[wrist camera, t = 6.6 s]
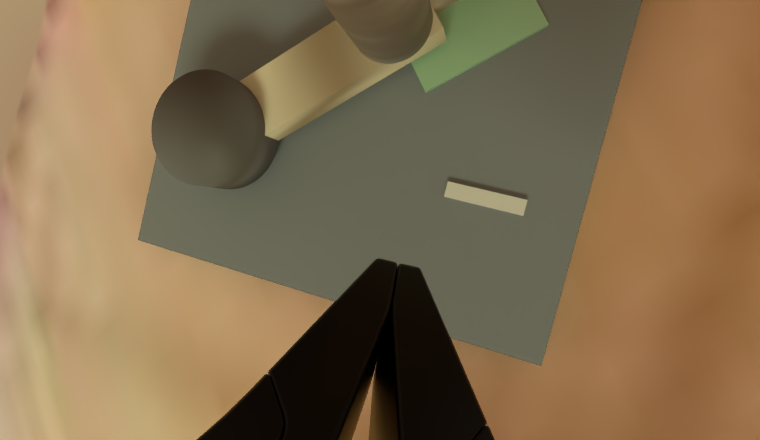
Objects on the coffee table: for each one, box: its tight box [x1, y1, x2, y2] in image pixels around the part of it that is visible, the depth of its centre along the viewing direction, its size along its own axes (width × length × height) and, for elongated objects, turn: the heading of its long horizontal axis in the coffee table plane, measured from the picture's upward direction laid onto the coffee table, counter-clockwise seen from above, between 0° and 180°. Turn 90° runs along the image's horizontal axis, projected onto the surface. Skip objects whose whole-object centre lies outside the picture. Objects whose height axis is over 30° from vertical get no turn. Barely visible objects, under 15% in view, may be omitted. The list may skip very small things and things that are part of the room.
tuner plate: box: [138, 0, 642, 366], centre depth 19 cm, size 18×18×1 cm
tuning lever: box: [152, 0, 458, 189], centre depth 13 cm, size 14×4×10 cm, turn 117°
